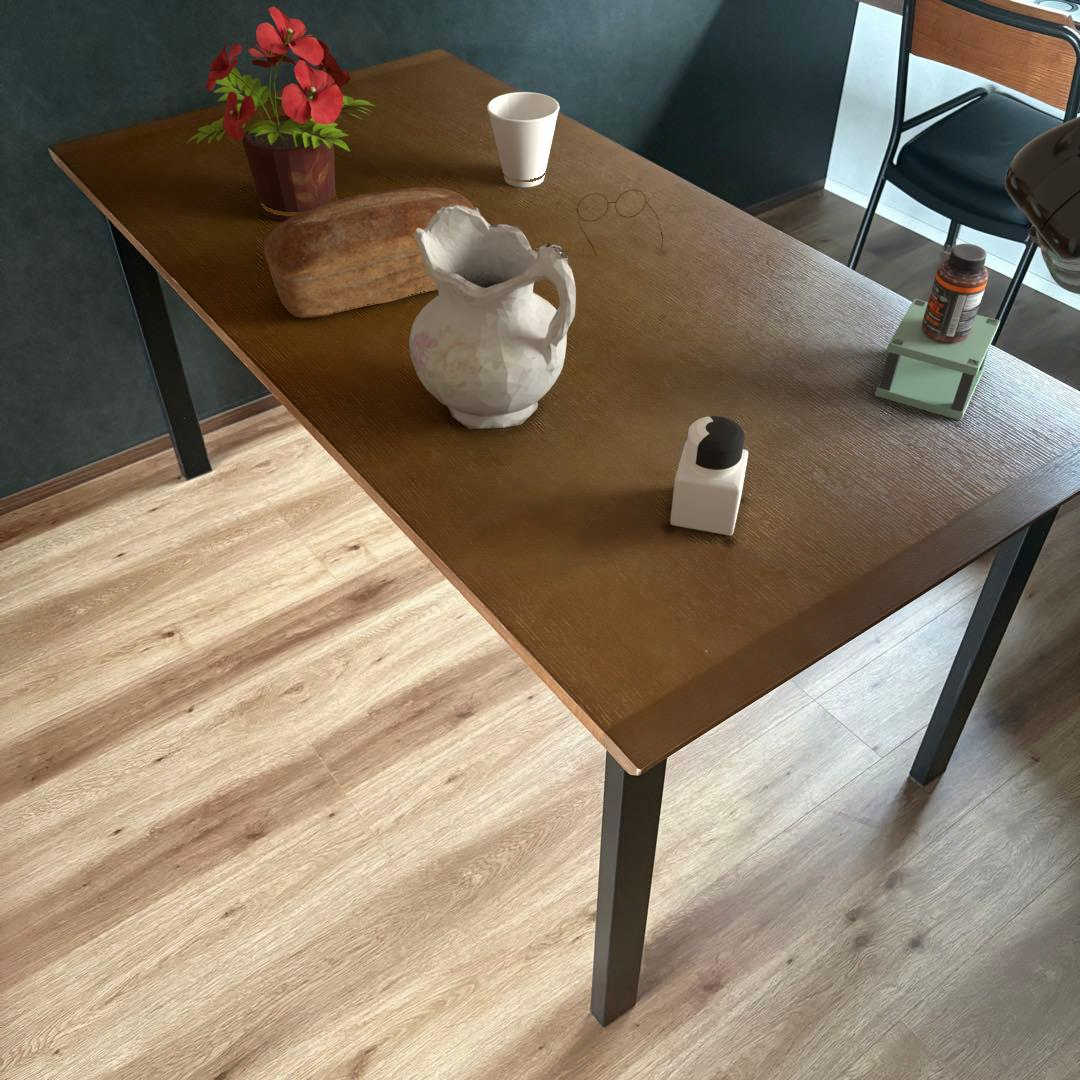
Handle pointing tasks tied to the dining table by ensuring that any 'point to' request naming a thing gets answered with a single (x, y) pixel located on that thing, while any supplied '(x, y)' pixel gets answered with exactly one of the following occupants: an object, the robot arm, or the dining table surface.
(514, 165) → the cup
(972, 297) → the supplement bottle
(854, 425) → the dining table surface
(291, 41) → the potted plant
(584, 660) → the dining table surface
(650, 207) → the eyeglasses
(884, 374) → the shelf rack
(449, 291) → the ceramic pitcher
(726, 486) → the medicine bottle
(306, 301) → the bread
